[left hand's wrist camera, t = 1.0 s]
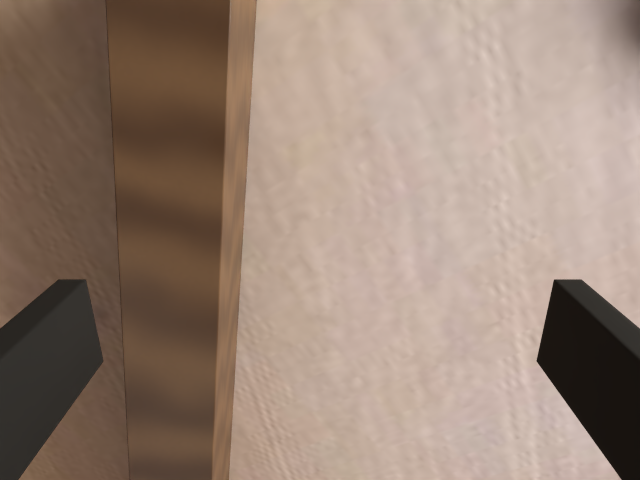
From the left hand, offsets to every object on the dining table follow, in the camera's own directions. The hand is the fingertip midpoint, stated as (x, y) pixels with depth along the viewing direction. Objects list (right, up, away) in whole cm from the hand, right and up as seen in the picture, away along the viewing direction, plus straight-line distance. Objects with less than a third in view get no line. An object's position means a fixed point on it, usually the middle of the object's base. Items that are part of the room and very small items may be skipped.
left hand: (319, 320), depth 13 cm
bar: (-10, -9, +25) cm, 28 cm away
